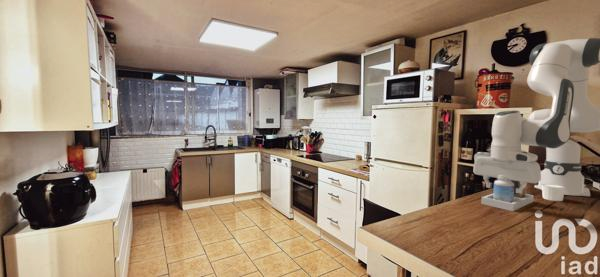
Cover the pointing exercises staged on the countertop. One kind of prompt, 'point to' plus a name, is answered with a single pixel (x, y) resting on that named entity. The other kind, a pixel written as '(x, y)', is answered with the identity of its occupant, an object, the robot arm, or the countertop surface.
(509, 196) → the pill bottle
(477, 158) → the robot arm
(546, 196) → the white ramekin
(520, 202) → the grey compartment tray
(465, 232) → the countertop surface
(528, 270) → the countertop surface
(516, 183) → the brown wooden block
